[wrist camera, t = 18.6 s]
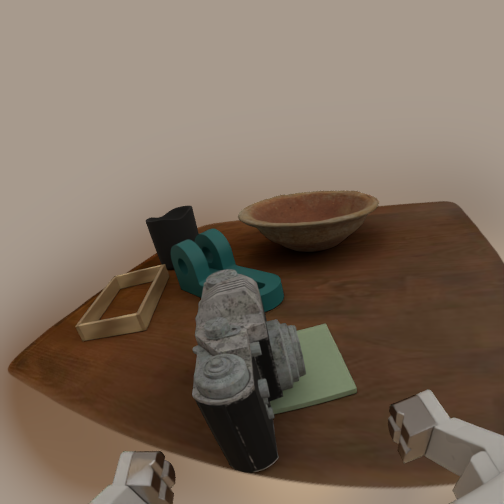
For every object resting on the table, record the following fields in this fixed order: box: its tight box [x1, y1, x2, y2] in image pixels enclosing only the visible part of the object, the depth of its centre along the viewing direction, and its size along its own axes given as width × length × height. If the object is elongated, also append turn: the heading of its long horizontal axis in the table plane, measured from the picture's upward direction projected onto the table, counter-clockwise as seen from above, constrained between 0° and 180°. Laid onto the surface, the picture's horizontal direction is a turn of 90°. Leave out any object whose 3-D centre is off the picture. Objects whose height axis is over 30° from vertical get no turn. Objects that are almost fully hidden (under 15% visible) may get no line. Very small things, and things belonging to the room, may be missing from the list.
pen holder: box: [146, 206, 198, 269], centre depth 62 cm, size 9×9×10 cm
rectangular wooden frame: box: [75, 264, 169, 341], centre depth 48 cm, size 11×18×2 cm, turn 3°
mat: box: [270, 324, 357, 414], centre depth 27 cm, size 10×10×1 cm
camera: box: [192, 269, 306, 473], centre depth 22 cm, size 15×7×10 cm, turn 3°
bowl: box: [238, 191, 379, 252], centre depth 54 cm, size 24×24×8 cm
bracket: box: [171, 229, 284, 312], centre depth 44 cm, size 18×7×8 cm, turn 42°
